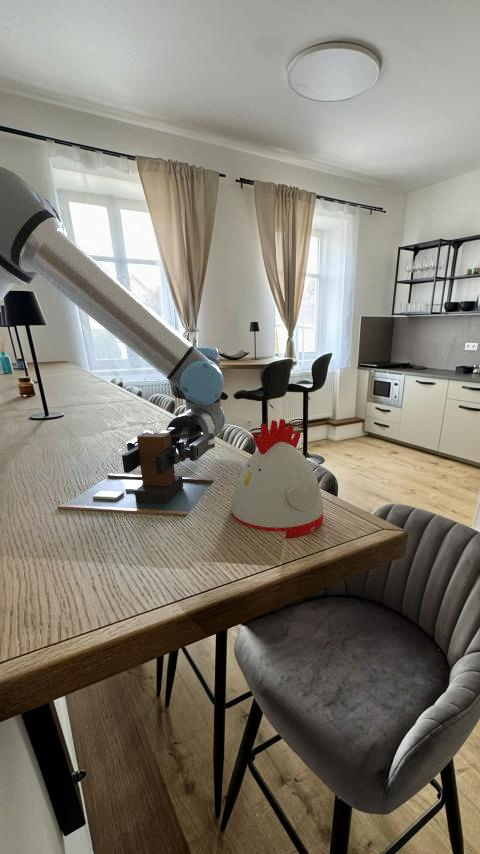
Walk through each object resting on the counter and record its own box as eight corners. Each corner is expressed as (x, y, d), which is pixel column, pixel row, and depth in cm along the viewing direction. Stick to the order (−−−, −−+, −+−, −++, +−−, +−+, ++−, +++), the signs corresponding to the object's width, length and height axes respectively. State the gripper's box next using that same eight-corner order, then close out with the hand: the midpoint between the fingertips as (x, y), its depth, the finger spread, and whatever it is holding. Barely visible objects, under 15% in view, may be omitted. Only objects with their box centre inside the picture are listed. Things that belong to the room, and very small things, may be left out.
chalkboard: (58, 516, 62) (56, 506, 62) (110, 481, 77) (109, 473, 77) (186, 523, 60) (186, 513, 60) (214, 487, 75) (214, 478, 75)
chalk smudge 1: (93, 498, 66) (92, 496, 66) (100, 492, 68) (100, 490, 68) (116, 499, 66) (116, 497, 66) (123, 494, 68) (123, 491, 68)
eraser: (155, 485, 72) (148, 429, 68) (183, 486, 71) (177, 429, 68) (135, 502, 65) (126, 440, 61) (166, 503, 64) (159, 440, 60)
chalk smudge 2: (125, 490, 69) (125, 488, 69) (132, 485, 72) (131, 483, 72) (148, 492, 69) (148, 489, 69) (154, 487, 71) (153, 484, 71)
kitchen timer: (214, 514, 64) (209, 417, 58) (282, 495, 72) (283, 408, 66) (270, 548, 54) (271, 435, 48) (341, 521, 62) (349, 422, 57)
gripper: (234, 451, 83) (201, 491, 61) (150, 447, 84) (89, 486, 63) (233, 413, 80) (198, 442, 58) (146, 411, 82) (81, 437, 60)
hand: (142, 464), depth 61 cm, fingers closed on eraser, 4 cm apart
